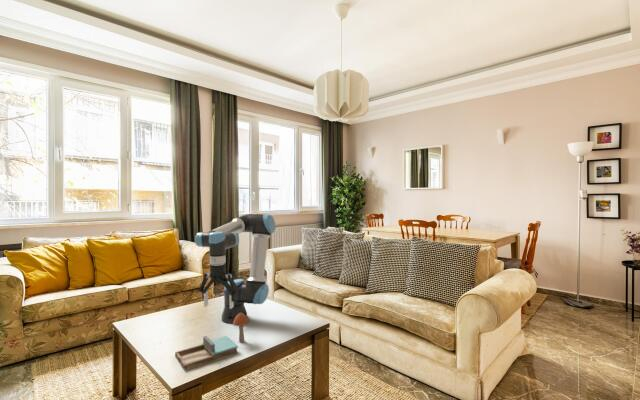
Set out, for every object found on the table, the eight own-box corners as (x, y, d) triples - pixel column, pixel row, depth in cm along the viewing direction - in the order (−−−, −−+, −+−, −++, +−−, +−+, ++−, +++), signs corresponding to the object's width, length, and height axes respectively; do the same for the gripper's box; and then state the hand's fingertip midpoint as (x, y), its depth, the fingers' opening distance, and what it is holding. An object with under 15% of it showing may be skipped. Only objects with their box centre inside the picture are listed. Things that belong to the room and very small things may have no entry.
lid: (202, 344, 160) (202, 335, 160) (226, 337, 168) (226, 329, 167) (212, 355, 149) (212, 346, 149) (238, 347, 157) (237, 338, 156)
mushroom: (234, 338, 172) (234, 309, 172) (249, 337, 173) (249, 309, 172) (231, 345, 164) (231, 315, 164) (247, 344, 165) (247, 315, 164)
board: (175, 356, 153) (175, 352, 152) (224, 342, 167) (224, 337, 167) (184, 370, 141) (184, 365, 141) (236, 353, 156) (236, 348, 156)
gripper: (190, 264, 157) (191, 307, 158) (238, 266, 152) (239, 311, 153) (198, 261, 164) (200, 302, 165) (245, 263, 159) (245, 305, 160)
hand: (218, 306), depth 159 cm, fingers open, 13 cm apart
